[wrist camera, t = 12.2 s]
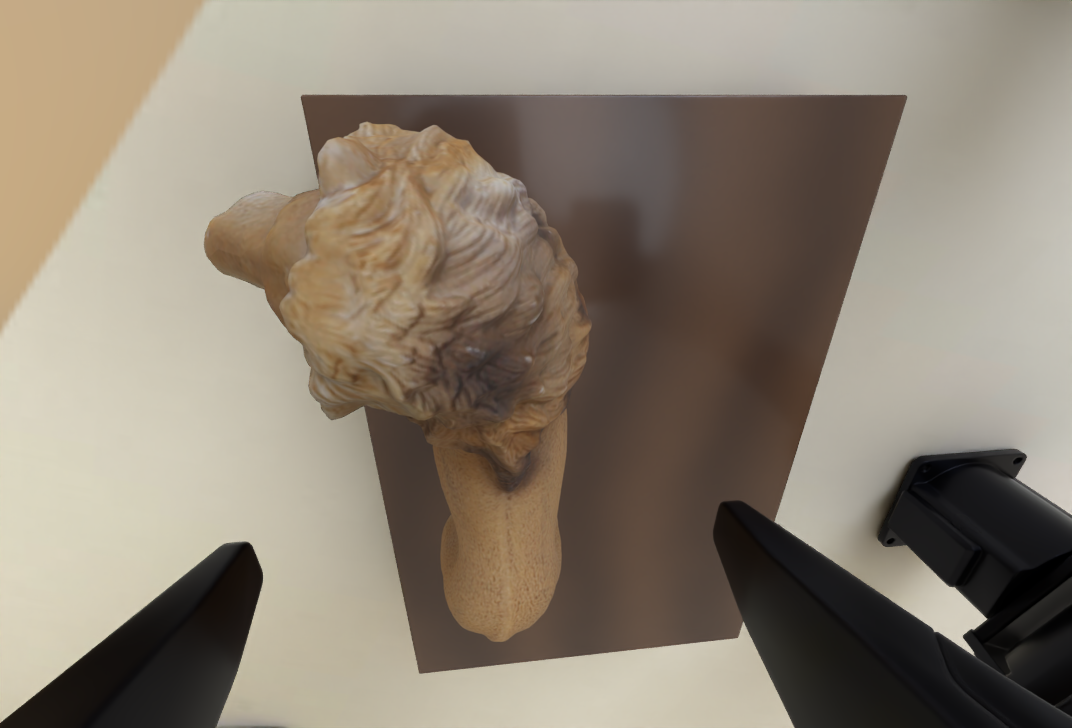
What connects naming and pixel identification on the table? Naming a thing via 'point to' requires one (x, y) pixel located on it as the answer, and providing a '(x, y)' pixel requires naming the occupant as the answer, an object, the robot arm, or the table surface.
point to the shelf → (650, 339)
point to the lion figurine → (435, 337)
